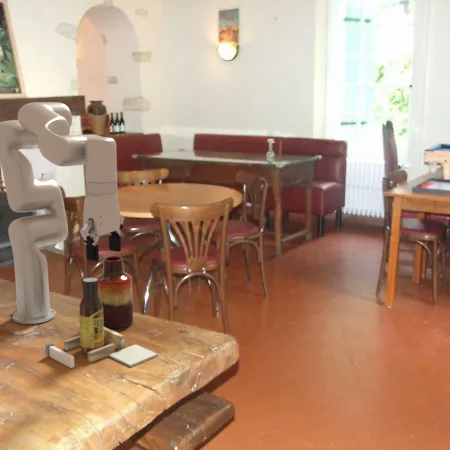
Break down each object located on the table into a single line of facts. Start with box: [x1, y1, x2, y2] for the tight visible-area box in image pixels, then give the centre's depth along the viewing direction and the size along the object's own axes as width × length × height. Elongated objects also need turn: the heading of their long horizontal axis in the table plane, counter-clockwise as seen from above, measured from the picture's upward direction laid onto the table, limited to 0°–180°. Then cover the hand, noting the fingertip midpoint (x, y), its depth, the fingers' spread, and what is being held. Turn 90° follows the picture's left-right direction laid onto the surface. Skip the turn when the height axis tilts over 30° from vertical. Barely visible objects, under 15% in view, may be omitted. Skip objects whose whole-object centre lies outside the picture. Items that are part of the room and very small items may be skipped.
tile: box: [108, 344, 158, 368], centre depth 158 cm, size 9×9×1 cm
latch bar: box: [45, 342, 75, 369], centre depth 154 cm, size 11×2×3 cm, turn 48°
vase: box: [95, 255, 134, 331], centre depth 178 cm, size 11×11×20 cm
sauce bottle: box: [78, 277, 105, 355], centre depth 159 cm, size 7×6×20 cm
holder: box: [63, 327, 126, 363], centre depth 161 cm, size 12×11×4 cm
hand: (104, 255), depth 150 cm, fingers open, 9 cm apart
